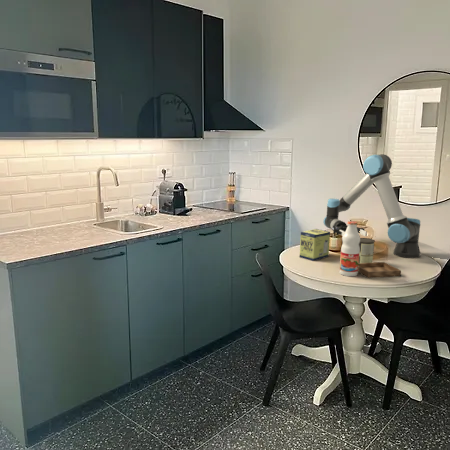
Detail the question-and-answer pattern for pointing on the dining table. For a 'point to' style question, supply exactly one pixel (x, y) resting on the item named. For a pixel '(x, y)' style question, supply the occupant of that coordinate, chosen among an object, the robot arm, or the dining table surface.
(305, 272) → the dining table surface
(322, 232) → the protein box
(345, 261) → the fruit juice
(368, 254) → the coffee can
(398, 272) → the tray
